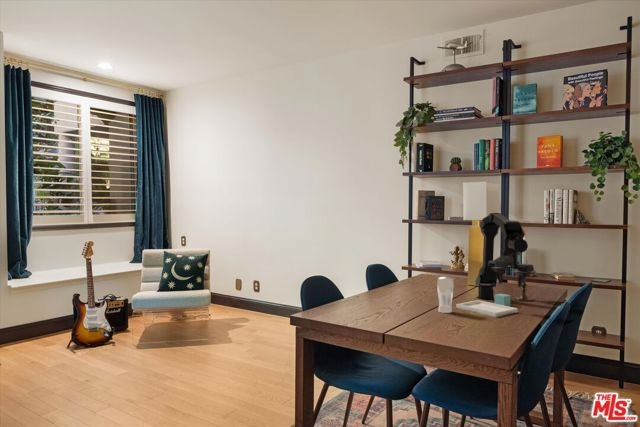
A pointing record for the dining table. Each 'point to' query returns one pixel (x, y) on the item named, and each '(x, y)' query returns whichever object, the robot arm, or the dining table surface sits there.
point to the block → (502, 299)
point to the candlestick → (523, 296)
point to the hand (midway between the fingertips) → (509, 285)
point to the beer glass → (445, 294)
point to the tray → (487, 308)
